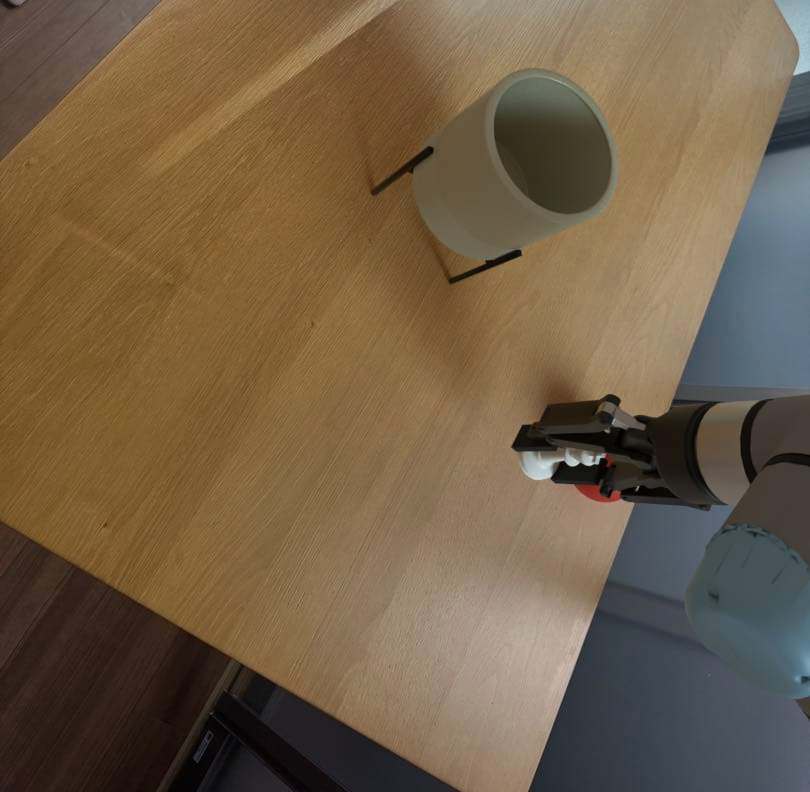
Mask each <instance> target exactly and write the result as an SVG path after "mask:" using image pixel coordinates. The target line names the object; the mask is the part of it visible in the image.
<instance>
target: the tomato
mask: <svg viewBox="0 0 810 792" xmlns="http://www.w3.org/2000/svg"><path fill="white" fill-rule="evenodd" d="M605 458H606V459H607V460H608V463H607V466H610V463H611V462H614V460H612V458H611V457H610V456H609V455H608V454H606V456H605ZM573 485H574V487H575V488H576V489H577V491H579V492H580V494H582V495H583V496H585V497H586V498H587V499H589V500H591V501H594V502H599V503H604V504H606V503H614V502H618V501H621V500H622V499H621V498H620V497H619V495H620V493H621V492H619V491H613V492H612V495H611V497H610V498H605V497H603V496H602V495H600V494H599V490H600V487H601V486H595V485H594V486H592V485H575V484H573Z"/></svg>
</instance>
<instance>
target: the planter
mask: <svg viewBox="0 0 810 792" xmlns="http://www.w3.org/2000/svg"><path fill="white" fill-rule="evenodd" d="M617 147H618V146H617V143H616V139H615V136H614V133H613V130H612V127H611V125H610V124H609V121H608V120H607V118H606V116H605V114H604V112H603V110H601V108H600V106H599V105H598V104H597V102H596V101H595V100H594V99H593V97H591V95H590V94H588V92H587V91H586V90H584V88H583V87H581V86H580V85H579V84H578V83H576V82H575V81H574V80H572V79H571V78H569V77H567V76H565V75H563V74H561V73H559V72H557V71H553V70H551V69H546V68H541V67H527V68H522V69H521V68H520V69H518V70H515V71H513V72H511V73H509V74H507V75H506V76H504V77H503V78H502V79H501V80H500V81H498V82H497V83H496V84H494V85H493V86H492V87H491V88H489V89H488V90H487V91H486V92H484V93H483V94H482V95H480V96H479V97H478V98H477V99H476V100H474V101H473V102H472V103H470V104H469V105H468V106H467V107H465V108H464V109H463V110H462V111H460V112H459V113H458V114H457V115H456V116H454V117H453V118H452V119H450V120H449V121H448V122H447V123H445V124H444V125H442V127H441V128H439V129H438V130H437V131H435V132H434V133H433V134H431V136H430V137H428V138H427V139H426V141H424V143H423V144H422V146H421V147H420V148H419V151H418V153H417V154H416V155H414V156H413V157H412V158H410V159H409V160H408V161H406V163H404V164H403V165H402V166H401V167H399V168H398V169H396V170H395V171H394V172H393V173H391V174H390V175H389V176H388V177H386V178H385V179H384V180H382V181H381V182H379V184H377V185H376V186H375V187H373V188H371V193H370V194H371V195H372V196H375V197H377V196H378V195H379V194H381V193H382V192H383V191H384V190H386V189H387V188H389V187H390V186H391V185H392V184H394V183H395V182H396V181H398V180H399V179H400V178H401V177H403V176H404V175H405V174H407V173H408V174H410V175H412V190H413V195H414V199H415V203H416V207H417V209H418V212H419V214H420V216H421V218H422V220H423V222H424V223H425V225H426V227H427V228H428V229H429V231H430V232H431V233H432V234H433V235H434V237H436V239H437V240H439V242H441V244H443V246H445V247H447V248H448V249H449V250H451V251H452V252H454V253H456V254H458V255H460V256H462V257H465V258H467V259H472V260H478V261H484V262H485V263H484V264H481V265H478V266H477V267H474V268H472V269H470V270H467V271H465V272H463V273H460V274H458V275H455V276H453V277H451V278H449V279H448V281H449V284H450V285H455V284H457V283H461V282H463V281H465V280H467V279H469V278H472V277H475V276H477V275H480V274H481V273H484V272H486V271H489V270H492V269H494V268H496V267H499V266H500V265H501V266H502V265H503V264H505V263H509V262H510V261H514V260H515V259H518V258H520V257H523V252H522V250H523V249H525V248H528V247H530V246H533V245H534V244H537V243H540V242H542V241H544V240H547V239H548V238H551V237H553V236H556V235H558V234H561V233H562V232H565V231H567V230H570V229H572V228H575V227H576V226H580V225H582V224H585V223H586V222H589V221H591V220H593V219H594V218H596V217H598V215H600V214H601V213H602V212H604V211H605V209H606V208H607V206H608V205H609V204H610V202H611V200H612V198H613V196H614V194H615V192H616V189H617V185H618V181H619V180H618V179H619V172H620V171H619V169H620V162H619V161H620V159H619V153H618V148H617Z"/></svg>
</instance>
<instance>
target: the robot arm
mask: <svg viewBox="0 0 810 792" xmlns="http://www.w3.org/2000/svg"><path fill="white" fill-rule="evenodd" d="M621 402H622V399H621V398H620V397H619V396H617V395H616V394H613V393H608V394H606V395H604V396H602V397H601V398H599V399H593V400H591V399H589V400H581V401H569V402H568V401H567V402H560V403H559V402H558V403H548V404H546V406H545V408H544V410H543V412H542V414H541V416H540V418H539V420H538V421H534V422H532V423H528V424H527V423H526V424H521V426H520V427H519V430H518V432H517V434H516V436H515V438H514V440H513V441H512V444H511V446H510V448H511V449H512V450H513V451H514V452H517V453H518V452H529V451H557V449H558V447H559V448H560V447H563V448H565V447H568V448H574V449H580V450H586V451H592V452H598V453H604V454H608V455H609V456H610V457H611V458H612V460H614V462H611V463H610V466H607V463H608V460H607V459H606V458H600V461H599V464H593V465H591V466H587V465H584V464H582V463H581V462H580V463H579V464H578V465H576V466H569V465H568V464H567V463H566V462H565V461H560V462H559V466H558V468H557V470H556V472H555V473H554V474H553V475H552V476H551V477H550V478H549V480H550V481H552V483H554V484H558V485H574V484H575V485H592V486H594V485H595V486H601V487H600V490H599V494H600V495H602V496H603V497H605V498H610V497H611V495H612V492H613V491H619V492H621V493H620V495H619V497H620V498H621V500H622V501H624V502H626V503H635V504H647V505H649V504H650V505H663V506H677V507H688V508H692V509H696V510H700V511H704V512H710V511H711V509H712V506H730V507H734V508H733V509H732V511H731V512H730V514H729V515H728V516H727V518H726V520H725V521H724V523H723V524H722V525H721V526H720V528H719V529H718V530H717V531H716V532H715V533H713V535H712V538H710V539H709V541H708V543H707V544H706V546H705V551H704V555H703V557H702V559H701V560H700V562H699V564H698V566H697V568H696V569H695V571H694V573H693V574H692V577H691V578H690V580H689V582H688V583H687V585H686V588H685V592H684V599H683V603H684V611H685V615H686V618H687V620H688V622H689V624H690V627H691V628H692V630H693V632H694V633H695V635H696V637H697V638H698V639H699V642H701V644H702V645H703V646H704V647H705V649H707V650H708V651H709V652H712V653H713V654H715V655H716V656H717V657H718V658H719V659H721V660H722V662H723V665H724V667H726V668H727V669H728V670H729V671H730V672H731V673H733V674H734V675H736V676H737V677H739V678H740V679H741V680H743V681H745V682H746V683H748V684H750V685H751V686H753V687H755V688H756V689H759V690H761V691H763V692H764V693H768V694H771V695H773V696H776V697H779V698H784V699H791V700H794V701H795V702H796V704H797V705H798V707H799V708H800V709H801V711H802V712H803V714H804V715H805V717H806V718H807V720H808V721H809V722H810V394H802V395H791V396H790V395H789V396H780V397H775V398H774V397H773V398H766V399H753V400H737V401H736V400H735V401H725V402H724V401H723V402H701V403H690V404H689V403H688V404H680V405H677V406H675V407H673V408H671V409H670V410H668V411H666V412H665V413H663V414H661V415H659V416H656V417H655V416H650V415H646V414H636V415H631V414H629V413H628V412H626V411H625V410H623V409H621V407H620V405H621ZM575 485H574V486H575Z"/></svg>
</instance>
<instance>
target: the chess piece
mask: <svg viewBox="0 0 810 792" xmlns="http://www.w3.org/2000/svg"><path fill="white" fill-rule="evenodd" d="M605 456H606V454H604V453H598V452H592V451H586V450H580V449H574V448H568V447H563V448H560V446H559V447H558V449H557V451H529V452H517V461H518V464H519V466H520V469H521V470H522V472H523V473H524V474H525V475H526V477H528V478H530V479H532V480H535V481H542V480H546V479H547V480H548V479H550V478H551V476H552V475H553V474H554V473H555V472H556V470H557V468H558V466H559V462H560V461H565V462H566V463H567V464H568V465H569V466H576V465H578V464H579V463H580V462H581V463H582V464H584V465H587V466H591V465H593V464H599V461H600V458H605Z"/></svg>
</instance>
